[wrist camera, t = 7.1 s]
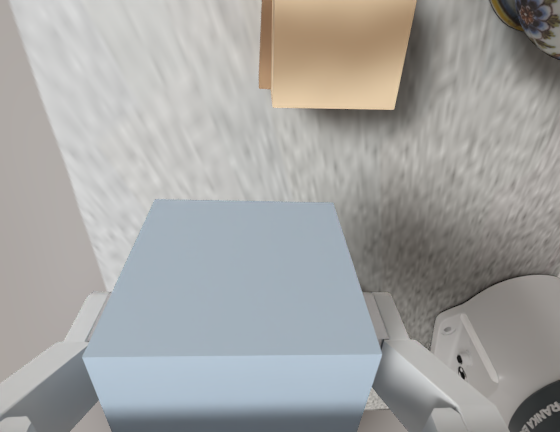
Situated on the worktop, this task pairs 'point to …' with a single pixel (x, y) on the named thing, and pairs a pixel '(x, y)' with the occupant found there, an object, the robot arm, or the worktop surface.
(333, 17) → the top block
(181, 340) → the blue cube
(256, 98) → the worktop surface
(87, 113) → the worktop surface
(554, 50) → the apothecary jar
